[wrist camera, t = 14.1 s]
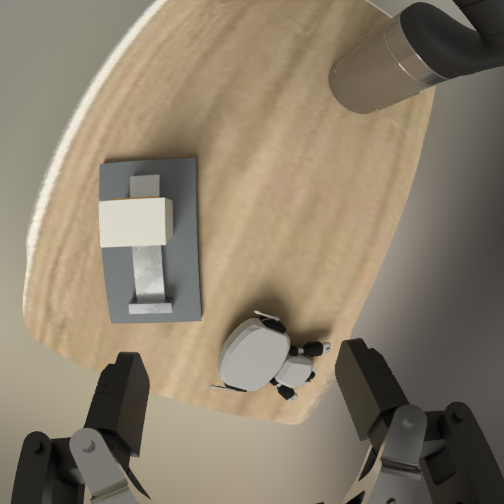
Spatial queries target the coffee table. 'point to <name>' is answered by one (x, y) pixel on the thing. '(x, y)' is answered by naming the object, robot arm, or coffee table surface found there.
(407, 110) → the coffee table surface
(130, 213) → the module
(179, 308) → the rail board
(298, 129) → the coffee table surface
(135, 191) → the rail
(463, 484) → the robot arm
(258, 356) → the robot toy
